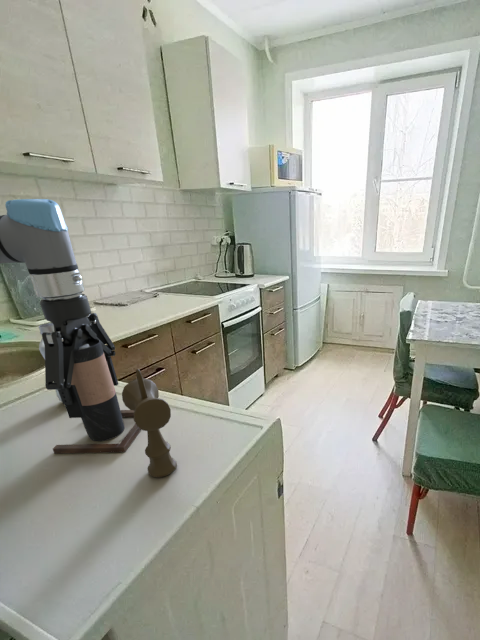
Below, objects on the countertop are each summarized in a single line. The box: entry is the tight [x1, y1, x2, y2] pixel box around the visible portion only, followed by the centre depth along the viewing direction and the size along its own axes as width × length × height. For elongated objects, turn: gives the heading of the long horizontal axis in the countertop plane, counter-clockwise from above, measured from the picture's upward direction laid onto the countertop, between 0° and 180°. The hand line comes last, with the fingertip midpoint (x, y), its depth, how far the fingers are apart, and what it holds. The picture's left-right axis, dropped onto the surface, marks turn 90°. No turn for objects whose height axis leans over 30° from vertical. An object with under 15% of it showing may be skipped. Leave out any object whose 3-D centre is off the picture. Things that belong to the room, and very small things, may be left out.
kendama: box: [121, 368, 178, 478], centre depth 59 cm, size 6×10×20 cm, turn 33°
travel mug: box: [64, 339, 125, 442], centre depth 72 cm, size 8×8×20 cm
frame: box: [52, 409, 142, 455], centre depth 76 cm, size 14×15×1 cm
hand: (96, 399), depth 73 cm, fingers open, 13 cm apart
